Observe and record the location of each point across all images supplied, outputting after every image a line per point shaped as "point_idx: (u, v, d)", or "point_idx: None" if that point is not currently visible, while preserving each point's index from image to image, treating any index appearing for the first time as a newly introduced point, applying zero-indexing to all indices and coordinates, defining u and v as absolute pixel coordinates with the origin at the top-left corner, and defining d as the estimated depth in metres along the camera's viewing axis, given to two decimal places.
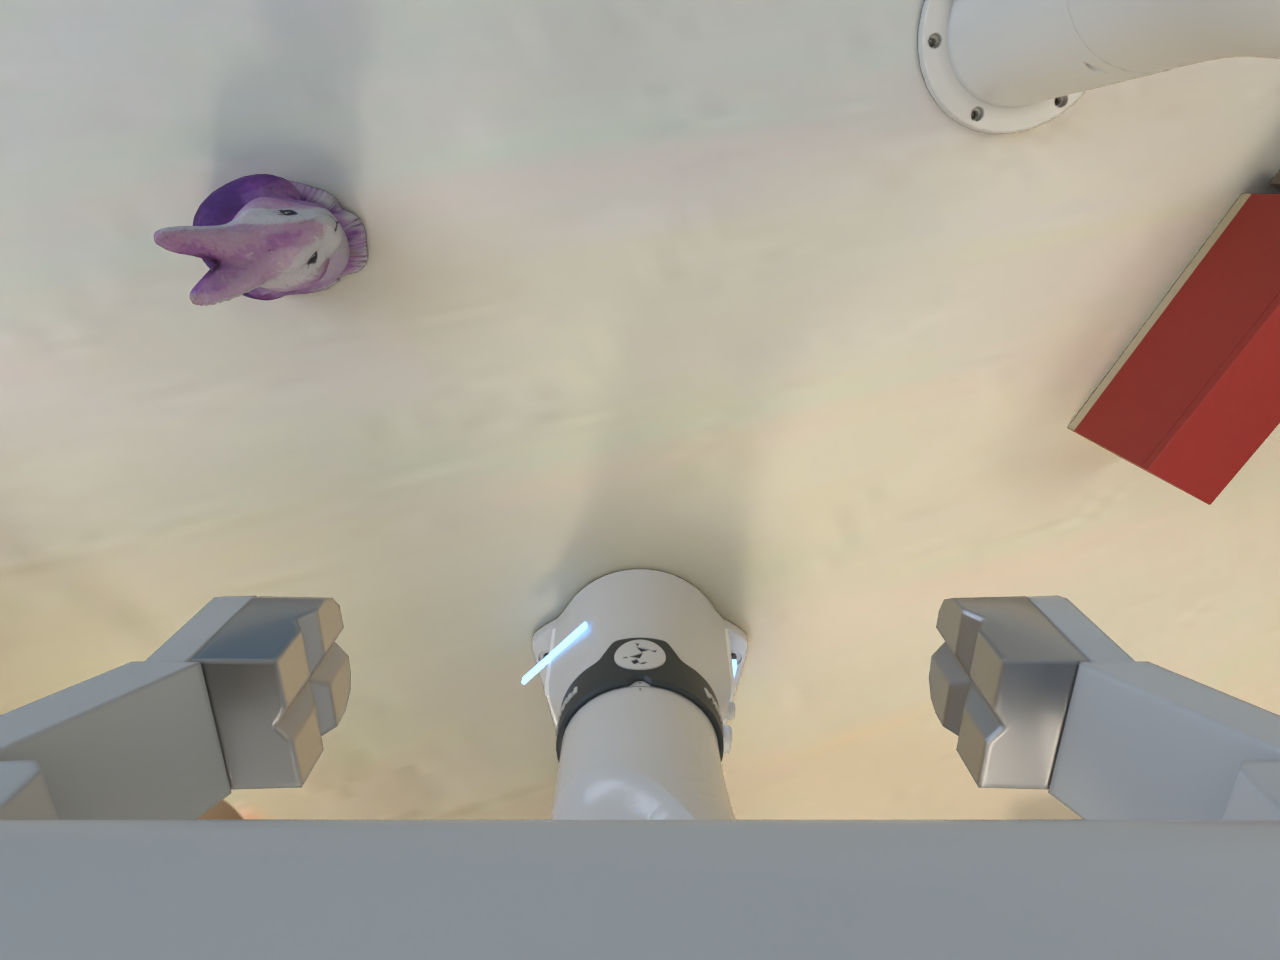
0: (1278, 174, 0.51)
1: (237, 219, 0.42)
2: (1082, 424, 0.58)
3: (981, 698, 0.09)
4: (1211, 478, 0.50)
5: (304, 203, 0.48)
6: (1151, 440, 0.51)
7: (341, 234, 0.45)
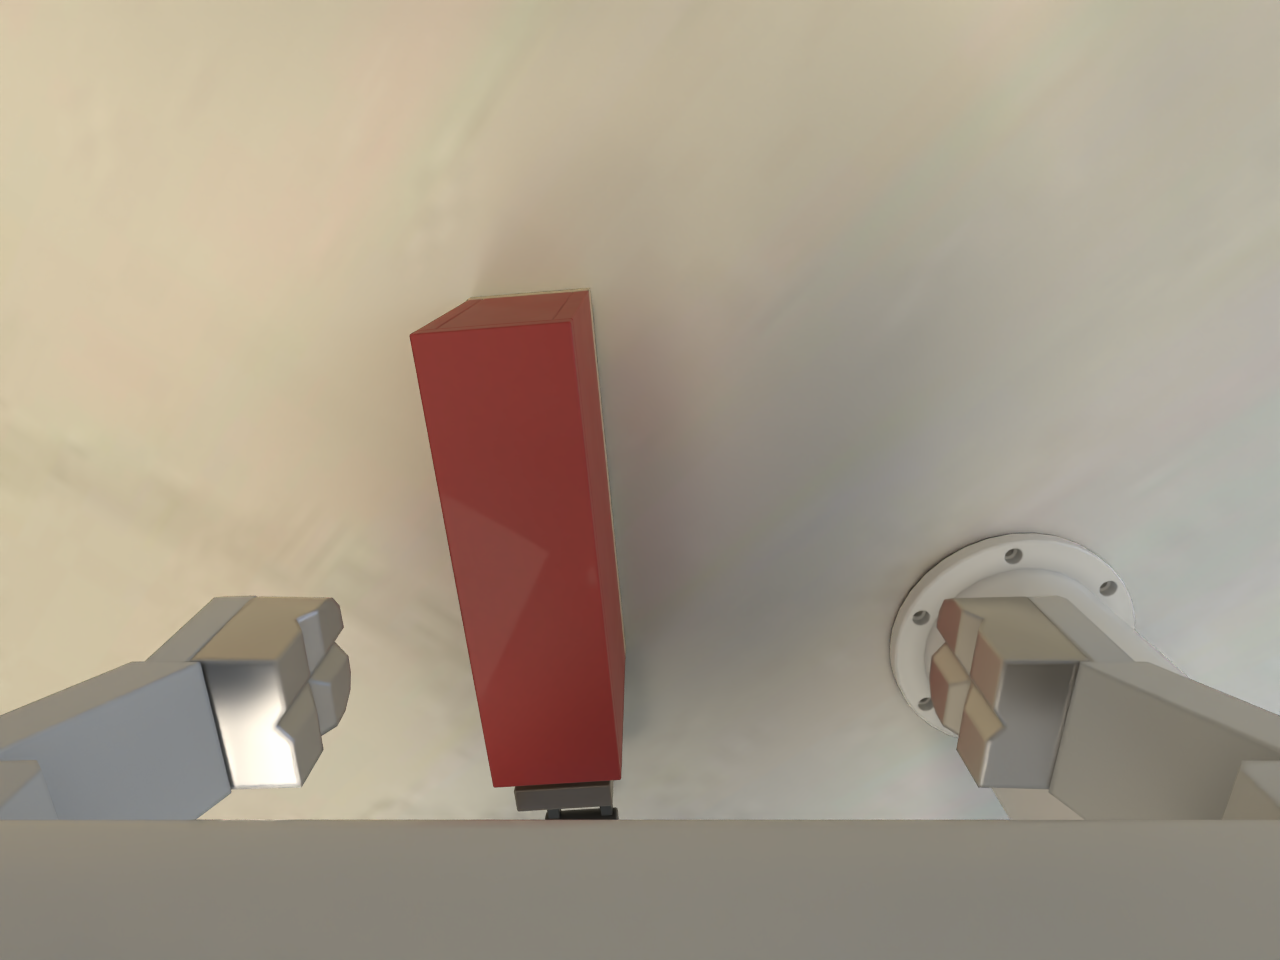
0: None
1: None
2: (589, 308, 0.33)
3: (981, 698, 0.09)
4: (453, 376, 0.26)
5: None
6: (579, 366, 0.27)
7: None
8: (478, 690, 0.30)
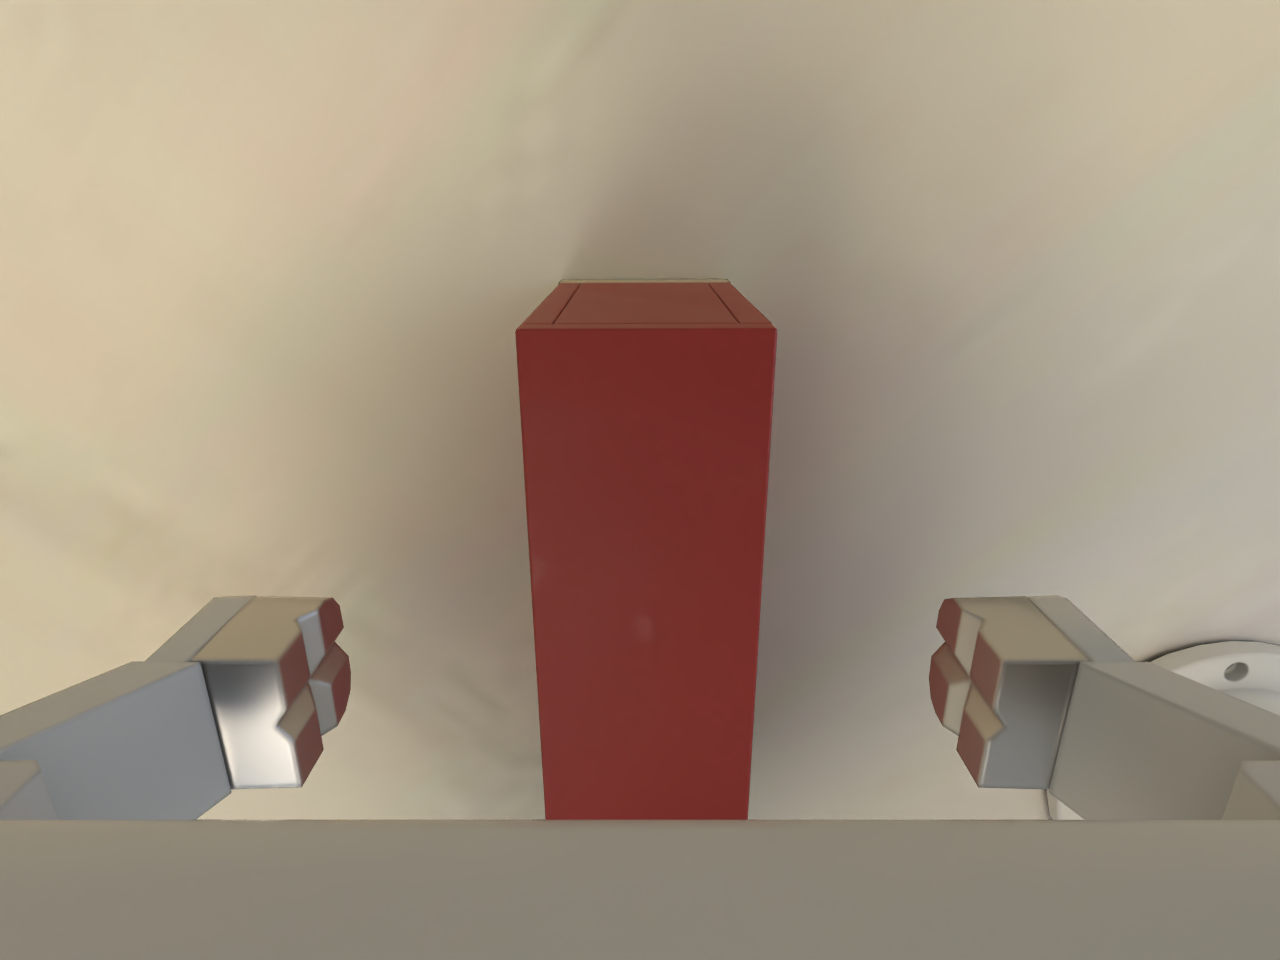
0: None
1: None
2: None
3: (981, 698, 0.09)
4: (577, 400, 0.16)
5: None
6: None
7: None
8: None
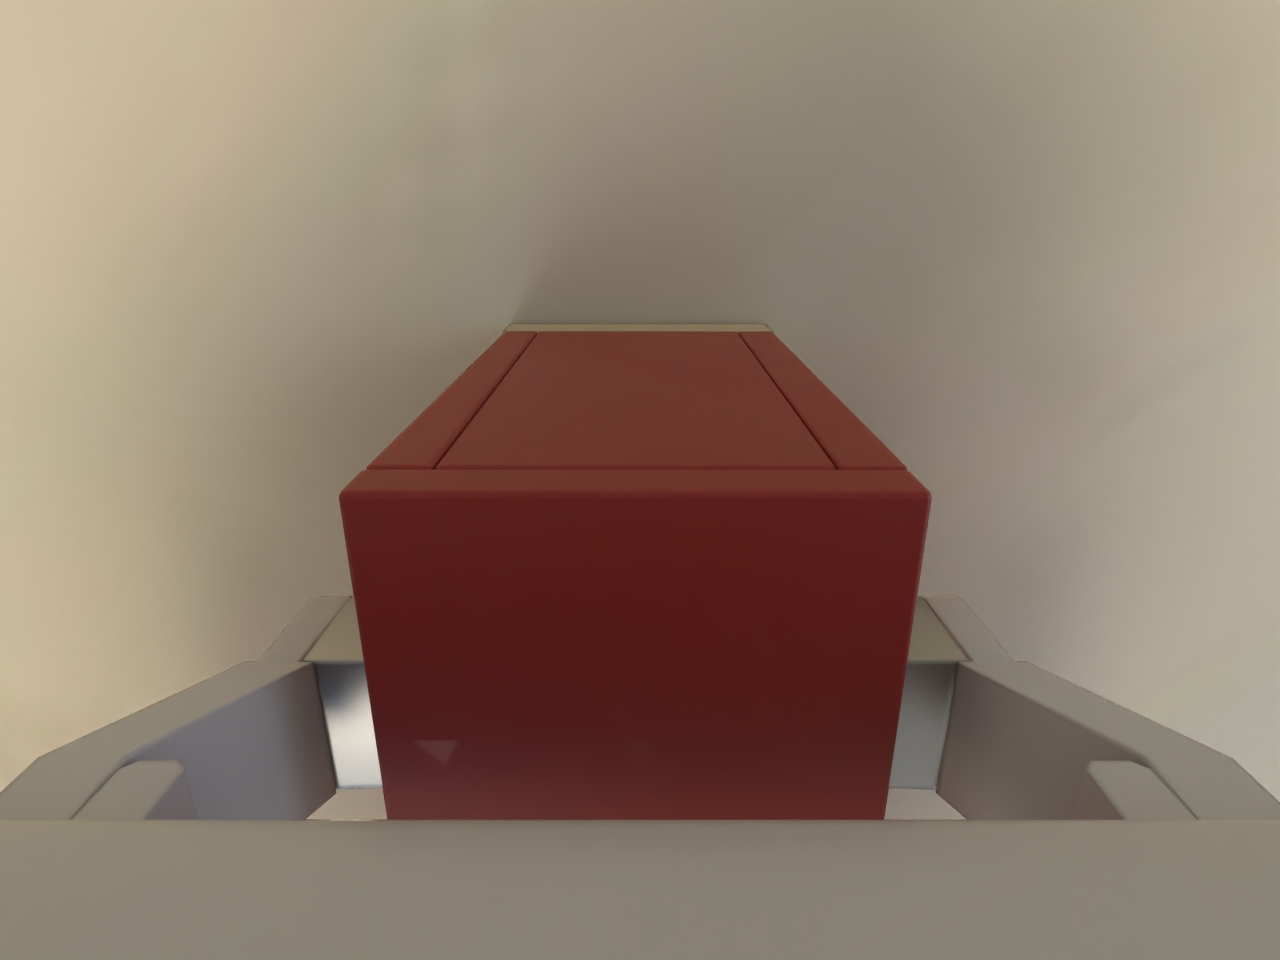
0: None
1: None
2: None
3: None
4: (486, 637, 0.07)
5: None
6: None
7: None
8: None
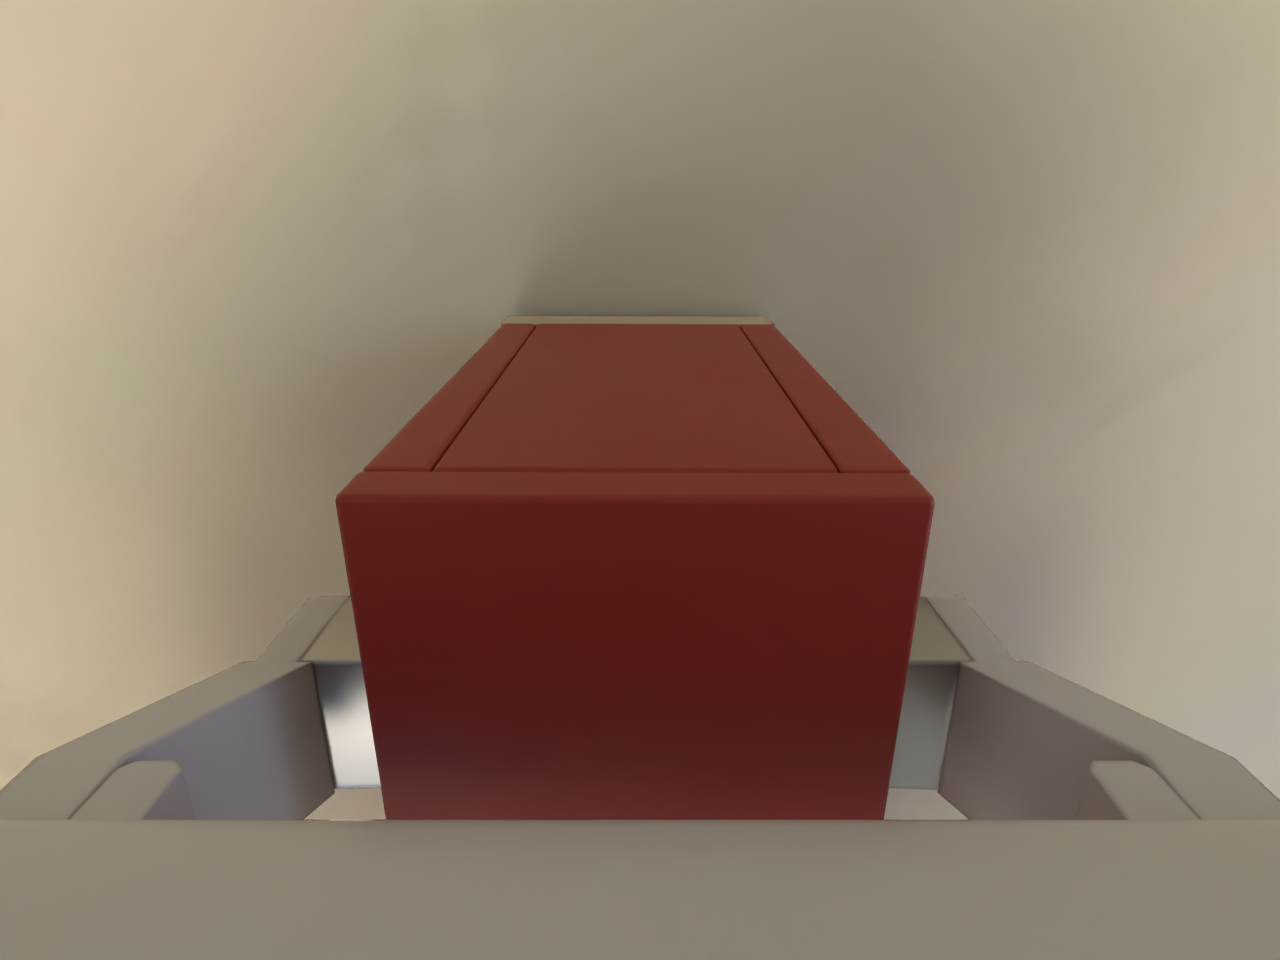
0: None
1: None
2: None
3: None
4: (485, 639, 0.07)
5: None
6: None
7: None
8: None
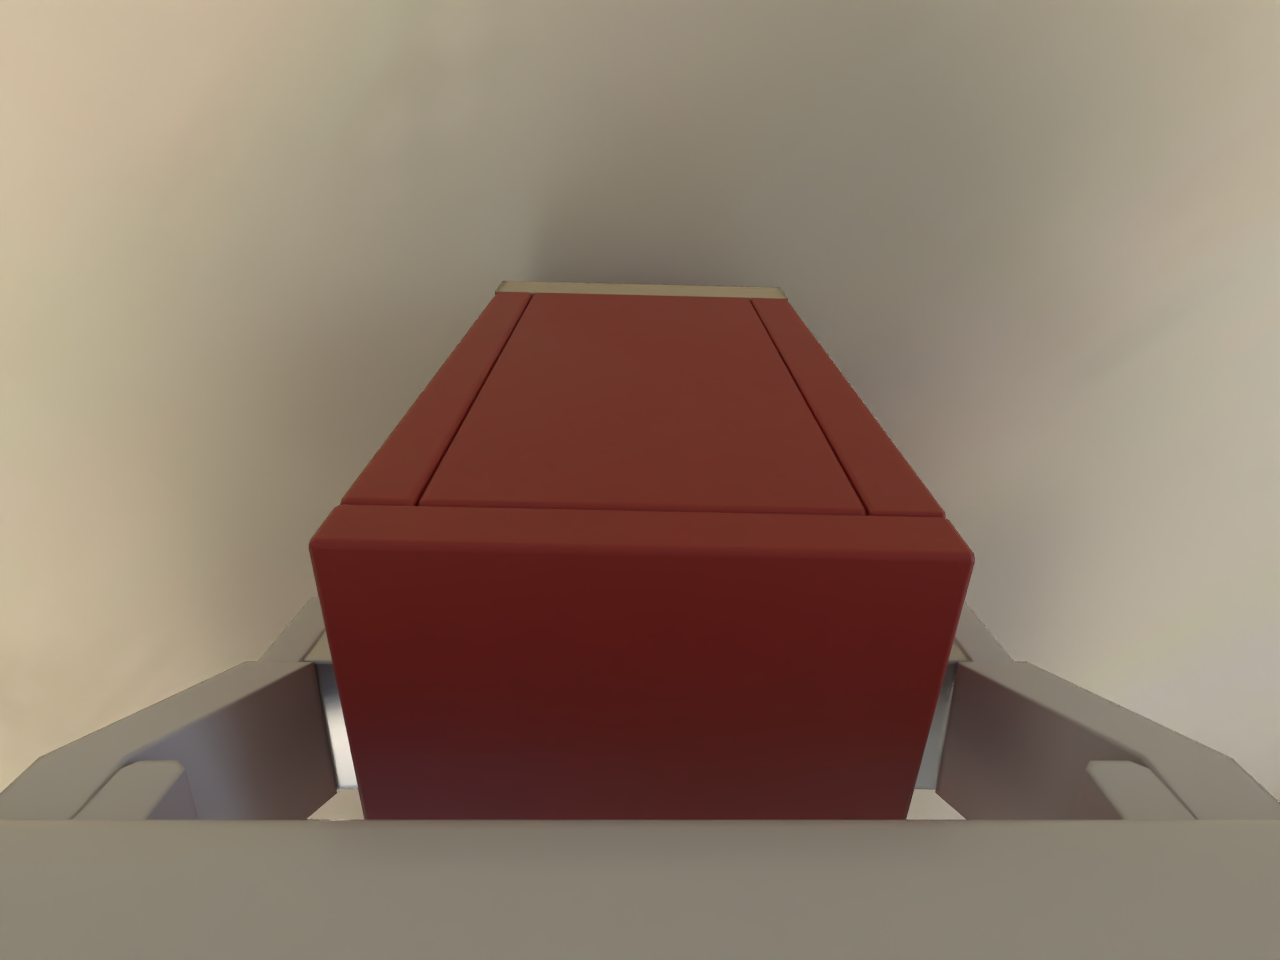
0: None
1: None
2: None
3: None
4: (475, 690, 0.07)
5: None
6: None
7: None
8: None
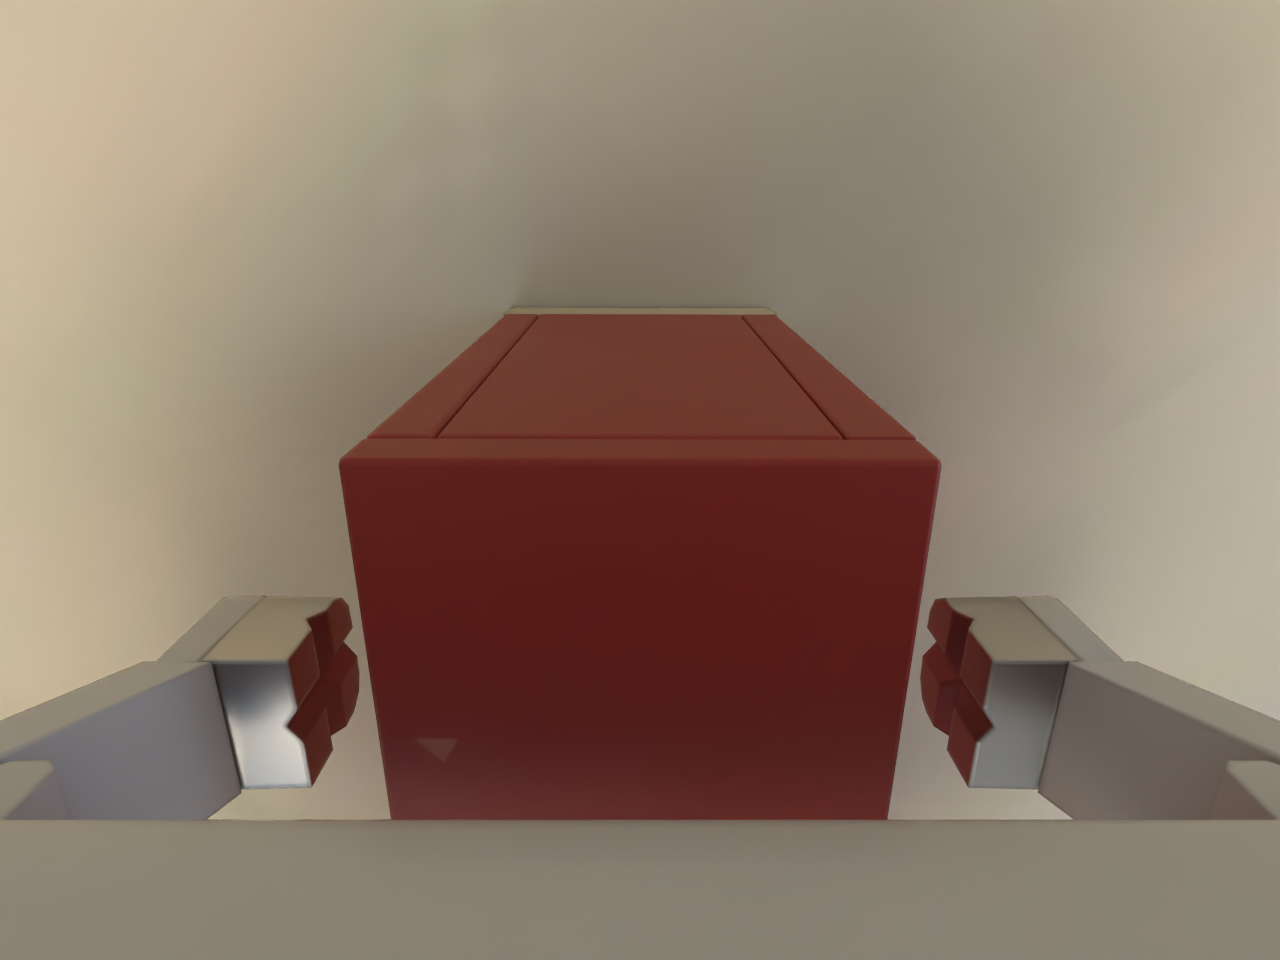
0: None
1: None
2: None
3: (971, 698, 0.09)
4: (488, 608, 0.07)
5: None
6: None
7: None
8: None
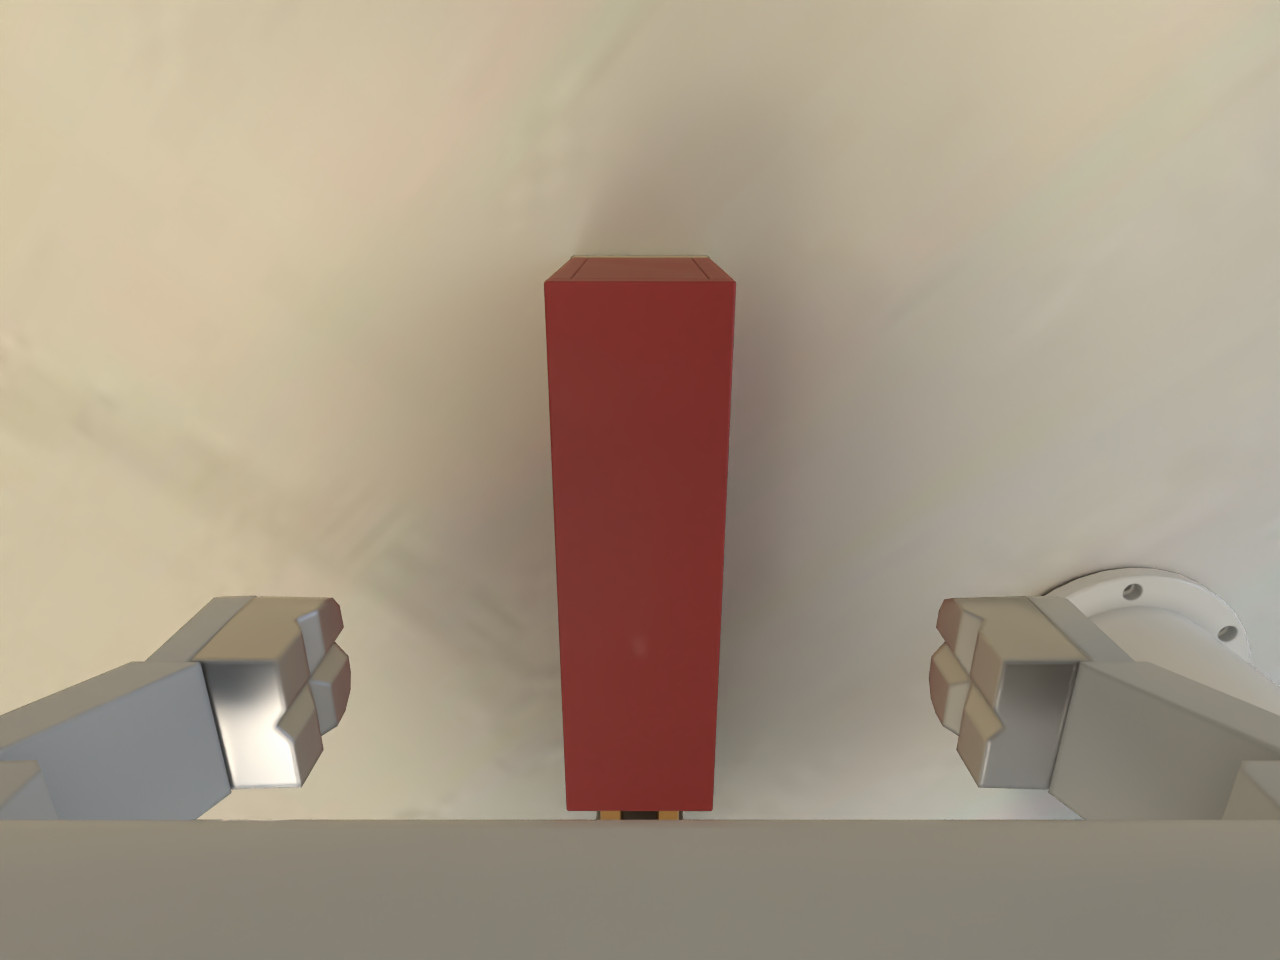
0: None
1: None
2: None
3: (981, 698, 0.09)
4: (589, 335, 0.22)
5: None
6: None
7: None
8: (565, 701, 0.26)
